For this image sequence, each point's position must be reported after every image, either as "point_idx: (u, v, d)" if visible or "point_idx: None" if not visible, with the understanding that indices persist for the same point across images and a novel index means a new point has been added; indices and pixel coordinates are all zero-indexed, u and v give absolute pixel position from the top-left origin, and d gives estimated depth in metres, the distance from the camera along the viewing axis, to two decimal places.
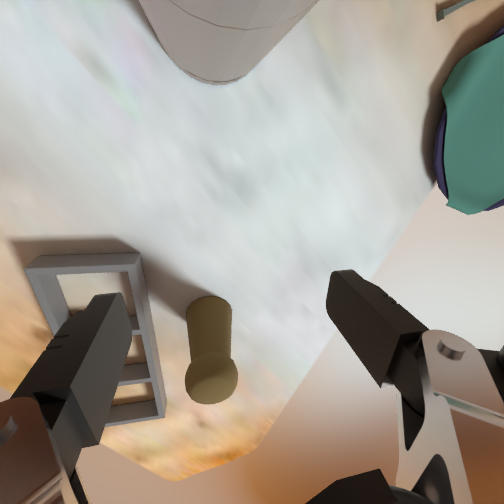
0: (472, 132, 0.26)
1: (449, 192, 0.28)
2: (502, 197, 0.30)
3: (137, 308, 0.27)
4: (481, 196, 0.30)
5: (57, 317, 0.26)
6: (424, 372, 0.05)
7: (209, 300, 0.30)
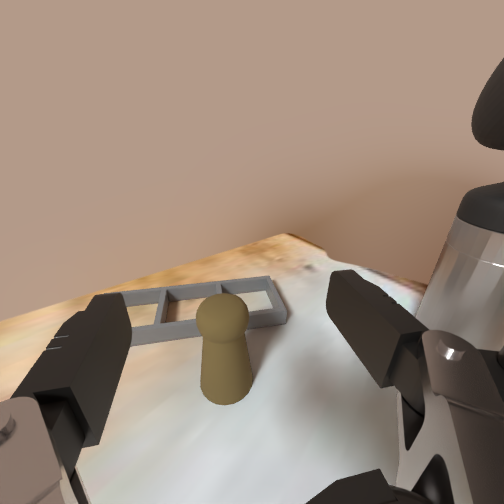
0: None
1: None
2: None
3: None
4: None
5: (234, 283, 0.42)
6: (424, 372, 0.05)
7: None
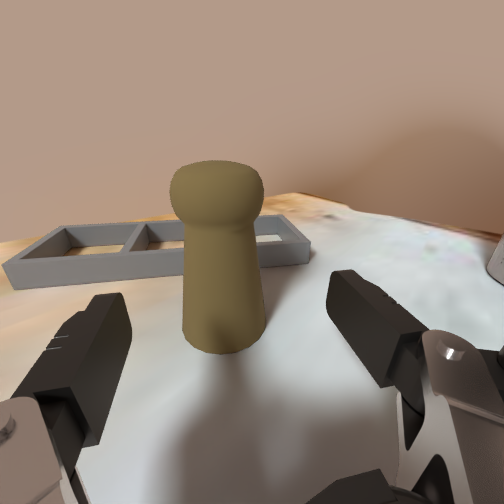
0: None
1: None
2: None
3: None
4: None
5: None
6: (424, 372, 0.05)
7: None
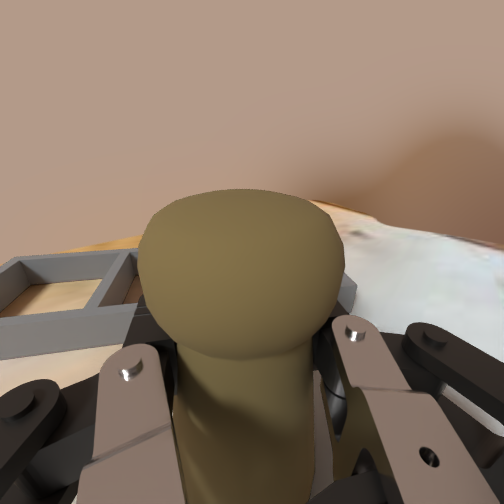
0: None
1: None
2: None
3: None
4: None
5: None
6: (339, 362, 0.06)
7: None
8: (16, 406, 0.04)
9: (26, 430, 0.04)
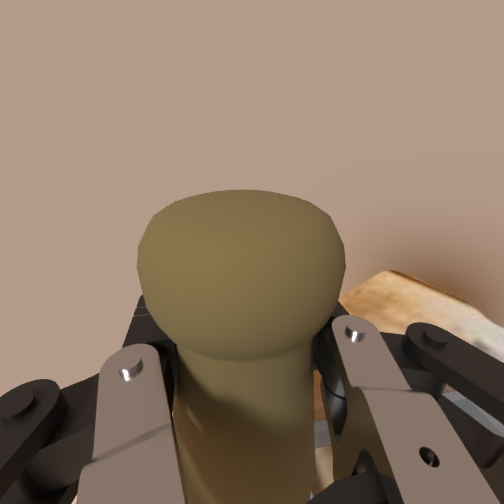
0: None
1: None
2: None
3: None
4: None
5: None
6: (339, 362, 0.06)
7: None
8: (16, 406, 0.04)
9: (26, 430, 0.04)
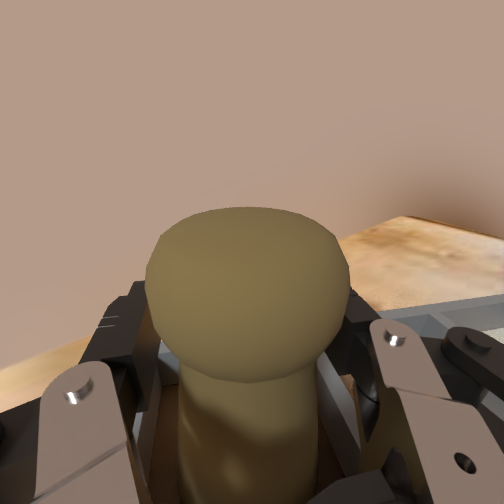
0: None
1: None
2: None
3: None
4: None
5: (466, 312, 0.16)
6: (375, 363, 0.06)
7: None
8: None
9: None
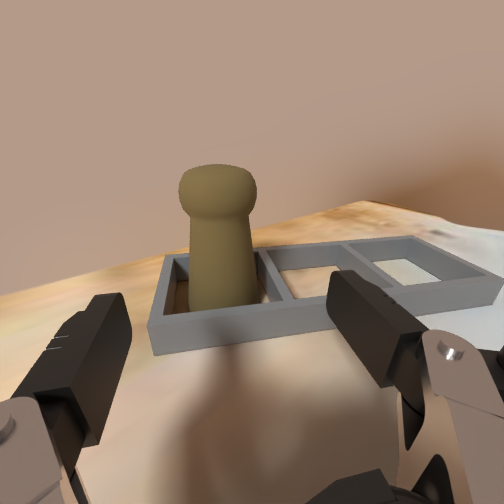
0: None
1: None
2: None
3: (440, 282, 0.19)
4: None
5: (366, 245, 0.26)
6: (424, 372, 0.05)
7: None
8: None
9: None
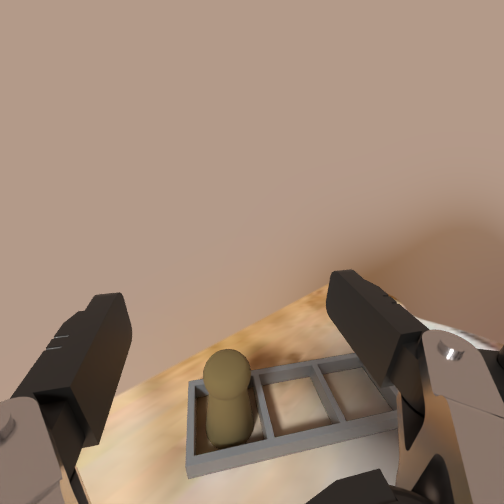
0: None
1: None
2: None
3: (371, 417, 0.29)
4: None
5: (331, 363, 0.36)
6: (424, 372, 0.05)
7: (252, 415, 0.31)
8: None
9: None
